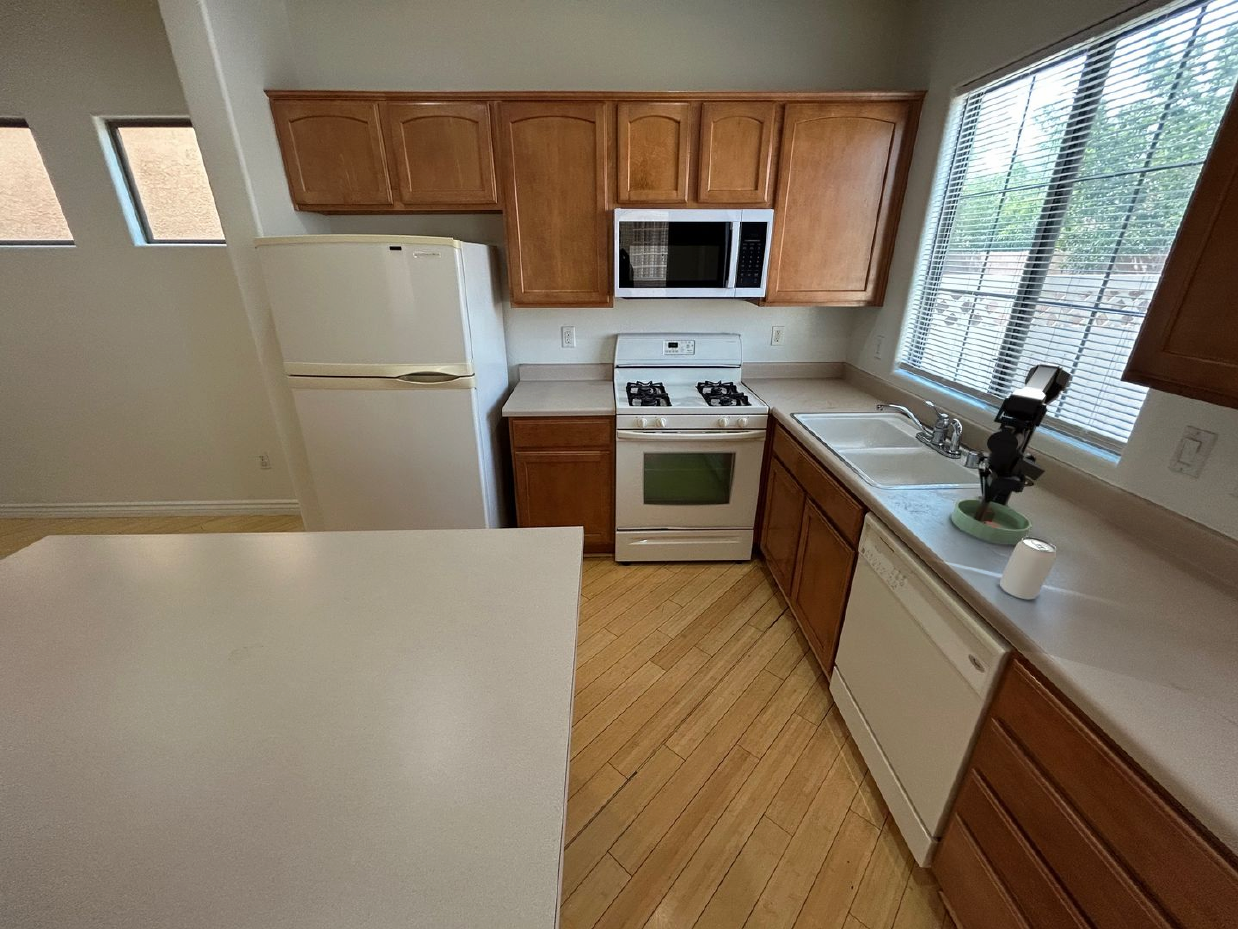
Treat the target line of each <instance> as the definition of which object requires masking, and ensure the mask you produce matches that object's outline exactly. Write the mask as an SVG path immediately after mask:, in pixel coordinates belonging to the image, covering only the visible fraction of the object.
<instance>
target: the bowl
mask: <svg viewBox="0 0 1238 929" xmlns="http://www.w3.org/2000/svg"><path fill="white" fill-rule="evenodd" d="M980 501H981V500H980V499H978V498H964V499H960V500H957V502H956V503H955V506H954V509H953V511H952V514H951V516H950V519H951V521H952V523H953V524H954V525H955V526H956V527H958V529H960V530H961V531H963V532H965V533H967V534H970V535H971V536H974V537H977V538H979V539H982V540H985V541H988V542H992V543H997V544H1002V545H1017V543H1019V542H1020V541H1022V538H1023V537H1029V534H1030V532H1031V529H1032V528H1033V522H1032V521H1031V520H1030V519H1029V518H1028V517H1027V516H1026V515H1025V514H1023V513H1021V512H1019V511H1018V510H1016V509H1013V508H1011V507H1009V506H1008V507H1006V506H1004V505H1001V504H997V503H994V502H990V504H989V506H988V508H993V510H994V512H995V515H994V517H993V520H992V523H997V524H999V525H1000V528H999V527H994V526H991V525H988V524H984V523H985V521H982V522H979V521H977V520H975V519H973V518H974V516H975V513H976V511H977V508H978V506H979V503H980Z"/></svg>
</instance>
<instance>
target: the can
mask: <svg viewBox="0 0 1238 929" xmlns="http://www.w3.org/2000/svg"><path fill="white" fill-rule="evenodd" d="M1057 551H1058V549H1057V547H1056V545H1054V544H1052V543H1051V542H1049V541H1047V540H1045V539H1042V538H1039V537H1035V536H1027V537H1023V538H1022V541H1020V542H1019V543H1017V544H1015V547H1014V549H1013V551H1012V554H1011V556H1010V558H1009V561H1008V562H1007V565H1006V566H1005V569H1004V570H1003V571H1004V572H1003V573H1002V575H1001V577H1000V580H999V586H1000V588H1001V589H1002V591H1003V592H1004V593H1006V594H1008V595H1010V596H1012V597H1014V598H1016V599H1020V600H1025V601H1030V600H1031V601H1032V600H1035V599H1036V598H1037V597H1038V595H1039V593H1040V591H1041V589H1042V587H1043V585H1044V583H1045V581H1046V579H1047V578H1048V575H1049V573H1050V571H1051V569H1052V567H1053V565H1054V563H1055V562H1056V558H1057Z"/></svg>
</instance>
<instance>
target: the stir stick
mask: <svg viewBox="0 0 1238 929" xmlns="http://www.w3.org/2000/svg"><path fill="white" fill-rule="evenodd" d="M981 496H982V495H981ZM989 504H990V503H986V502H984V493H983V496H982V498H981V501H980V503H979V506H978V508H977V511H976V513H975V516H974V518H973V519H975V520H977V521H979V522H982V521H983V519H984V516H985V514H986V511H987V509H988V506H989Z"/></svg>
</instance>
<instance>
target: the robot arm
mask: <svg viewBox="0 0 1238 929" xmlns="http://www.w3.org/2000/svg"><path fill="white" fill-rule="evenodd" d="M1071 376H1072V374H1071V373H1069V372H1068V371H1066V370H1065V369H1064V368H1063V366H1061V365H1058V364H1052V363H1045V362H1041V363H1037V364H1036V365H1035V366H1033V367H1030V368H1029V371H1028V373H1027V375H1026V377H1025V379H1024V387H1023V388H1018V389H1014V390H1013V391H1012V392H1011V393H1010V395H1009V396H1006V397H1005V398H1004V400H1003V402H1002V403H1001V406H1000V408H999V410H998V412H997V414H996V415H995V418H994V420H993V423H996V424H1000V426H999V427H998V429H996V430H995V431H994V432H993V433H992V434H991V435H990V436H988V438H987V440H986V446H987V448H988V450H989V452H985V451H980V452H978V453H976V454H975V457H974V461H973V462H975V464H976V465H980V464H981V463H982V467H977V473H978V479H979V485H980V492H981V493H980V494H981V495H978V498H979V500H981V498H982V496H983V493H984V502H986V503H990V502H994V503H997V504H1001V505H1004V506H1006V507H1009V505H1008V503H1009V501H1010V498H1011V496H1012V493H1015V494H1018V493H1023V491H1024V488H1025V486H1026V483H1027V481H1028V478H1030V480H1032V481H1037V480H1038V479H1039V478H1041V477H1042V475H1043V474H1045V473H1046V469H1045V468H1044V467H1043V466H1042V465H1041V464H1040V463H1039V462H1037V457H1036V456H1035V455H1033V454H1032V453H1030V452H1027V453H1026V451H1027V449H1028V447H1029V445H1030V443H1031V440H1032V438H1033V437H1034V434H1035V432H1036V430H1037V428H1040V426H1041V424H1042V422H1043V420H1044V419H1045V417H1046V414H1047V412H1048V408H1047V406H1048V405H1050V404H1051V403H1053V402H1055V401H1056V400H1057V399H1058V398H1059V397H1060V395H1061V393H1062V392H1065V391H1066V390H1067V388H1068V385H1069V383H1070V380H1071ZM1027 477H1028V478H1027Z"/></svg>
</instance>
